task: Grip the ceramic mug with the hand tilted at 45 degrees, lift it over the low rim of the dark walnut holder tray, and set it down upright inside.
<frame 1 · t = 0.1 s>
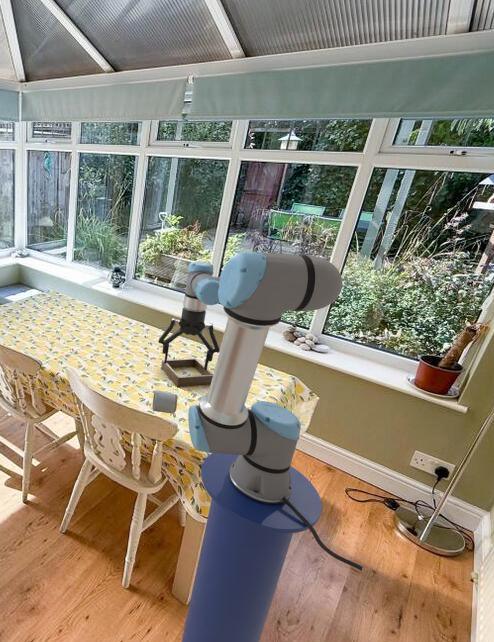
hand: (185, 365, 144), 19 cm above the table, tool pointing down, fingers open, 13 cm apart
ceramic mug: (162, 408, 152), on the table
walnut holder: (186, 377, 175), on the table
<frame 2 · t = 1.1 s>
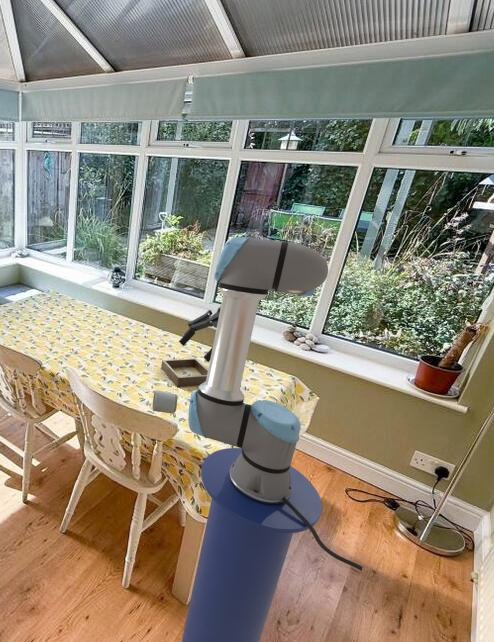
hand: (192, 351, 147), 22 cm above the table, tool tilted 45°, fingers open, 13 cm apart
nothing on the table moved.
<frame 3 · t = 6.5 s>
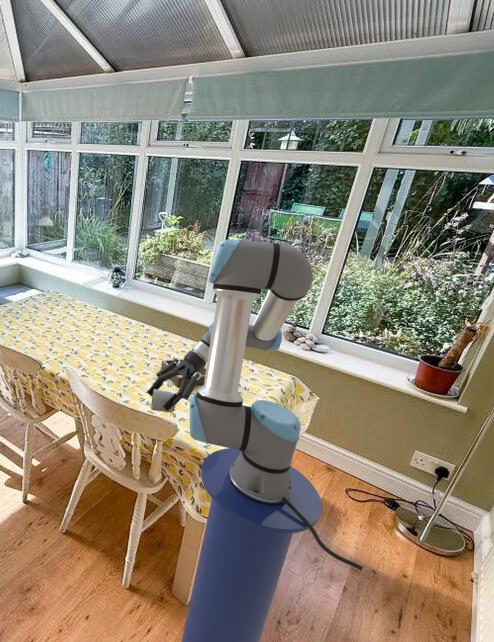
hand: (156, 401, 149), 4 cm above the table, tool tilted 45°, fingers closed on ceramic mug, 10 cm apart
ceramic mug: (161, 407, 152), on the table, touching gripper
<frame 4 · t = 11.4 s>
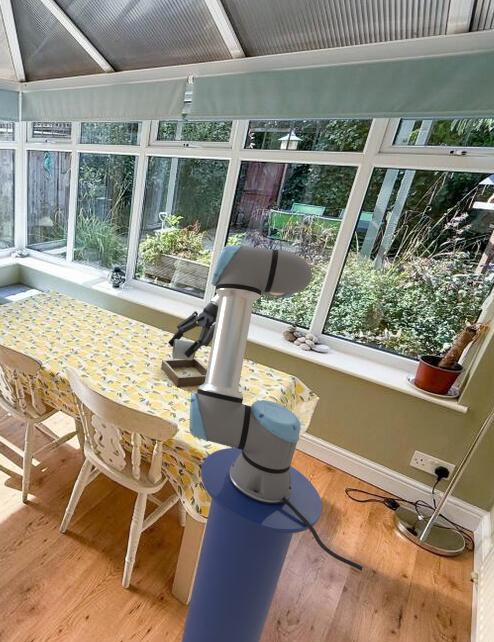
hand: (177, 350, 160), 17 cm above the table, tool tilted 45°, fingers closed on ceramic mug, 10 cm apart
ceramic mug: (181, 357, 163), point 13 cm above the table, touching gripper
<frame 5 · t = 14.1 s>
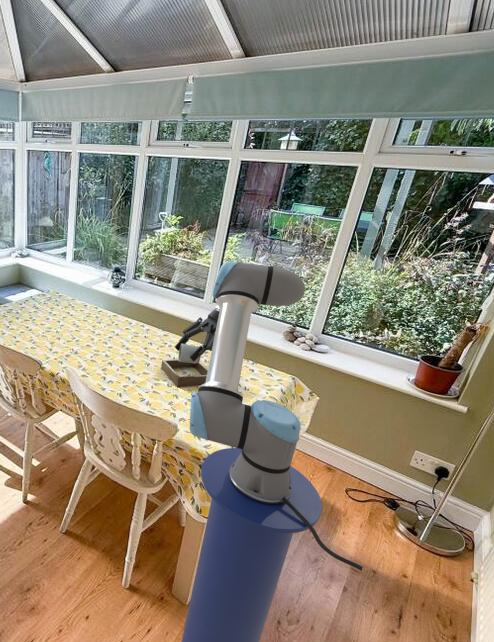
hand: (183, 354, 170), 11 cm above the table, tool tilted 45°, fingers closed on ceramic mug, 10 cm apart
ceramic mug: (187, 360, 173), point 7 cm above the table, touching gripper
when the fingers open (5 cm above the table, at t = 16.5 s): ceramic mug stays where it is, resting on walnut holder.
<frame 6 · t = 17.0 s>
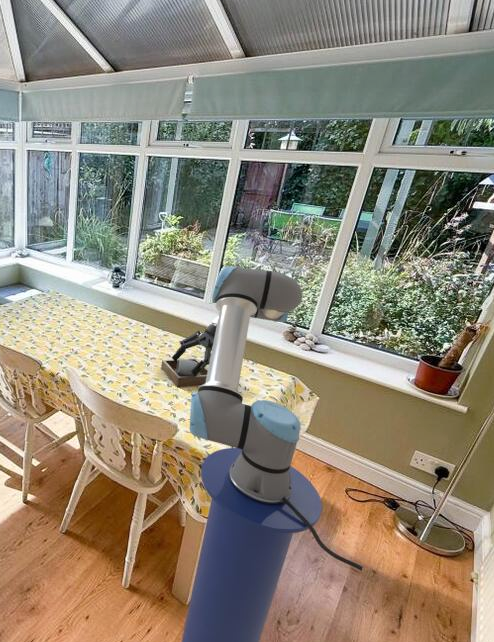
hand: (182, 366, 172), 6 cm above the table, tool tilted 45°, fingers open, 12 cm apart
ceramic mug: (184, 375, 175), point 1 cm above the table, touching walnut holder
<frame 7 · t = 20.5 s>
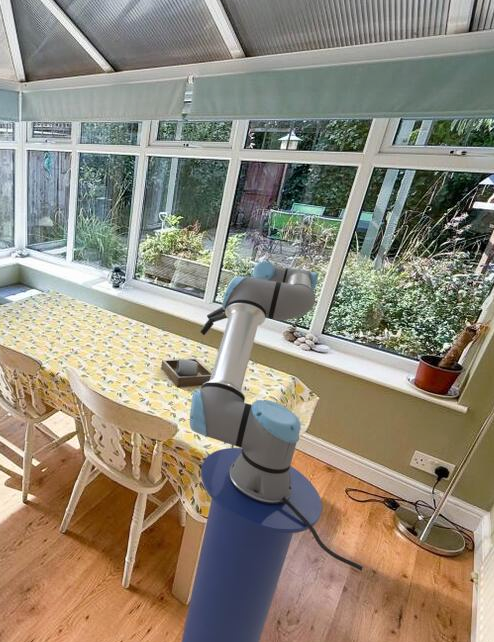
hand: (213, 340, 172), 16 cm above the table, tool tilted 40°, fingers open, 13 cm apart
nothing on the table moved.
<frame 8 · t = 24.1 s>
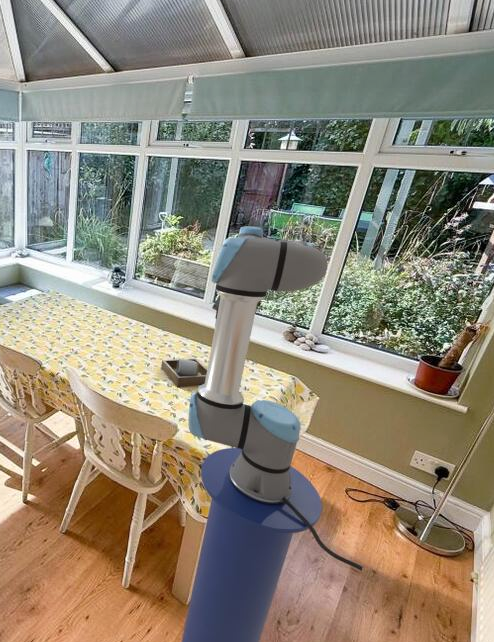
hand: (232, 325, 154), 29 cm above the table, tool pointing down, fingers open, 13 cm apart
nothing on the table moved.
at the end: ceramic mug inside the target area in the walnut holder (1.1 cm from its centre), point 0.7 cm above the walnut holder's base; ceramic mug tilted 2°; the gripper is holding nothing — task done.
